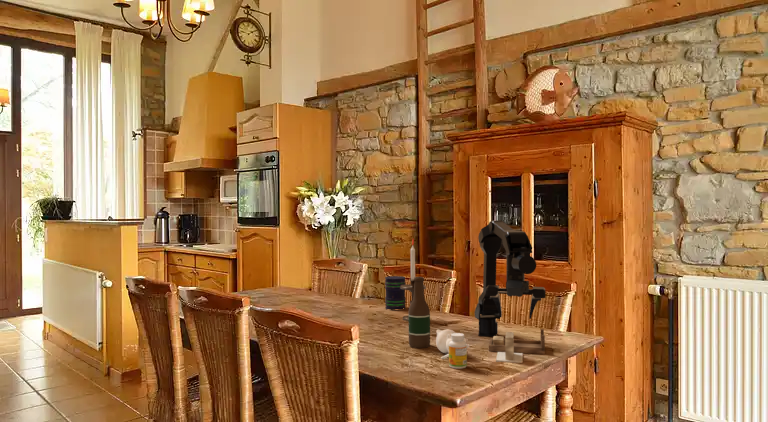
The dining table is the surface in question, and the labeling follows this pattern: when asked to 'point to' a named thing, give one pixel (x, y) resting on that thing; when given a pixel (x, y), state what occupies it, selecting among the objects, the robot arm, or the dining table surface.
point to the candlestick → (411, 286)
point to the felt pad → (517, 359)
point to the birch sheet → (509, 346)
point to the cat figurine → (444, 341)
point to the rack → (522, 345)
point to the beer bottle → (419, 317)
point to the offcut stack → (498, 340)
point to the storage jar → (395, 292)
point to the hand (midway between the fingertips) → (515, 318)
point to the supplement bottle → (457, 351)
